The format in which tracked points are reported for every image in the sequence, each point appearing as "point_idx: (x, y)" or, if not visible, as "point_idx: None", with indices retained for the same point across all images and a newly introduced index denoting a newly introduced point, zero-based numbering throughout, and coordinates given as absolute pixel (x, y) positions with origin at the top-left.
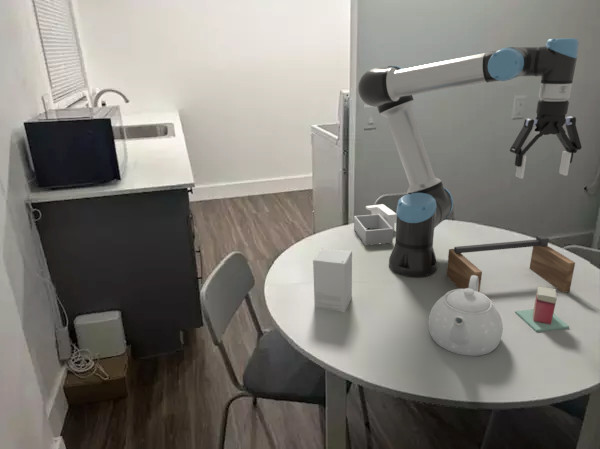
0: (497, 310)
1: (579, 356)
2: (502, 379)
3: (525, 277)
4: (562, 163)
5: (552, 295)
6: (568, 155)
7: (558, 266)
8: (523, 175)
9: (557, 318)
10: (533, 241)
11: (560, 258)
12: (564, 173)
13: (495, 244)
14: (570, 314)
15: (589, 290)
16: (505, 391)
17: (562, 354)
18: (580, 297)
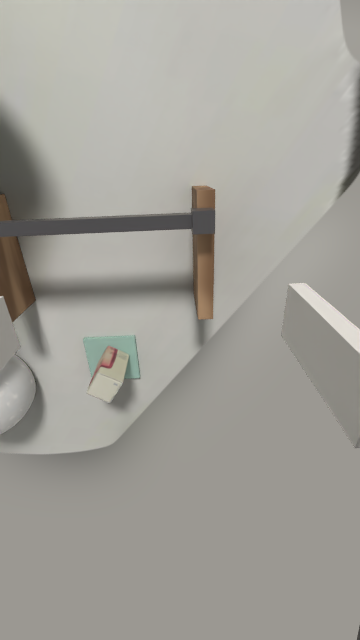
0: (11, 415)
1: (120, 417)
2: (23, 436)
3: None
4: (316, 333)
5: (106, 398)
6: (342, 428)
7: (196, 286)
8: (9, 357)
9: (134, 362)
10: (174, 226)
11: (198, 295)
12: (286, 333)
13: (63, 228)
14: (163, 349)
15: (242, 292)
16: (21, 447)
17: (103, 413)
18: None
